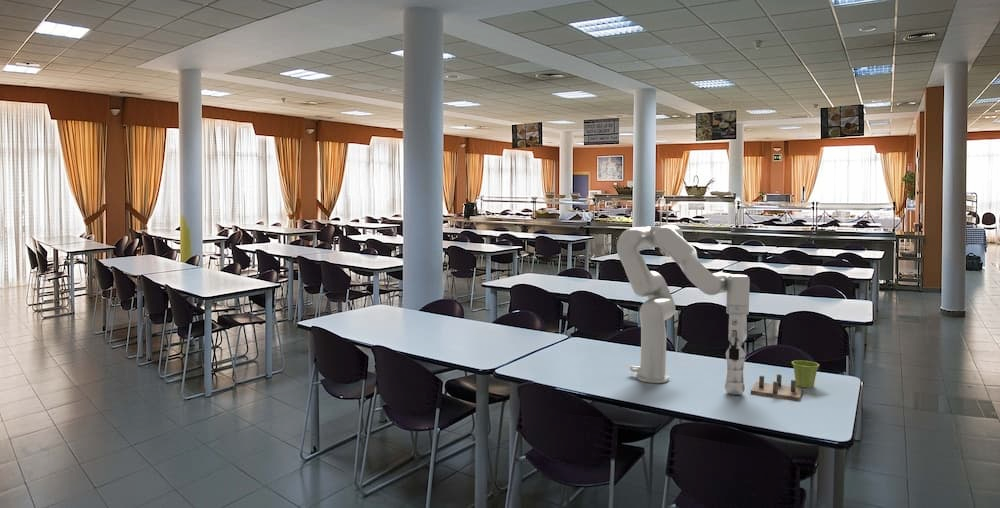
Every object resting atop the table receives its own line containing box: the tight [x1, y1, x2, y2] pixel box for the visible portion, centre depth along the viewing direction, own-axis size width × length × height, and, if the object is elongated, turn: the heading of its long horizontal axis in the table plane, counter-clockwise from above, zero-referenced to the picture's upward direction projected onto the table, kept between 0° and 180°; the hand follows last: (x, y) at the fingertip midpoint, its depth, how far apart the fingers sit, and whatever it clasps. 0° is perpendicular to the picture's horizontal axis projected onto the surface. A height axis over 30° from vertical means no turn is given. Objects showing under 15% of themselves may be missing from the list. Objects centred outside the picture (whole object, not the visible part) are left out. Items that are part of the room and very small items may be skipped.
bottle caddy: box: [750, 373, 804, 402], centre depth 230 cm, size 16×13×5 cm
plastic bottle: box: [724, 342, 746, 396], centre depth 227 cm, size 6×7×20 cm
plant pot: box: [791, 359, 820, 389], centre depth 238 cm, size 9×9×9 cm
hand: (736, 356), depth 226 cm, fingers open, 9 cm apart
